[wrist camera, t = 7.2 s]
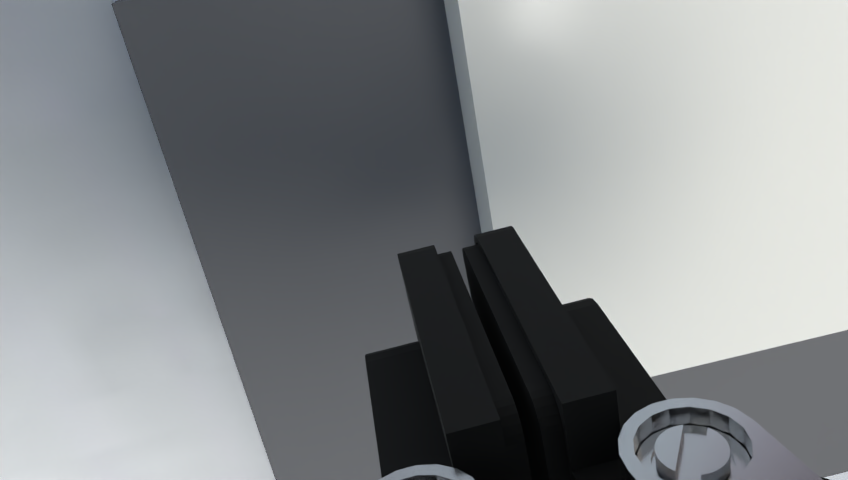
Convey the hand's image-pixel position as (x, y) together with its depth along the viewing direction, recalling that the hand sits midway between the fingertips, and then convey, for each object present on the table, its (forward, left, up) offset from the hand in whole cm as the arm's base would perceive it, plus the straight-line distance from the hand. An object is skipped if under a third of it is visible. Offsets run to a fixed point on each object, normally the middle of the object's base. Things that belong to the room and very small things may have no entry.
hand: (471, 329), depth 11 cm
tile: (0, +1, -5) cm, 5 cm away
